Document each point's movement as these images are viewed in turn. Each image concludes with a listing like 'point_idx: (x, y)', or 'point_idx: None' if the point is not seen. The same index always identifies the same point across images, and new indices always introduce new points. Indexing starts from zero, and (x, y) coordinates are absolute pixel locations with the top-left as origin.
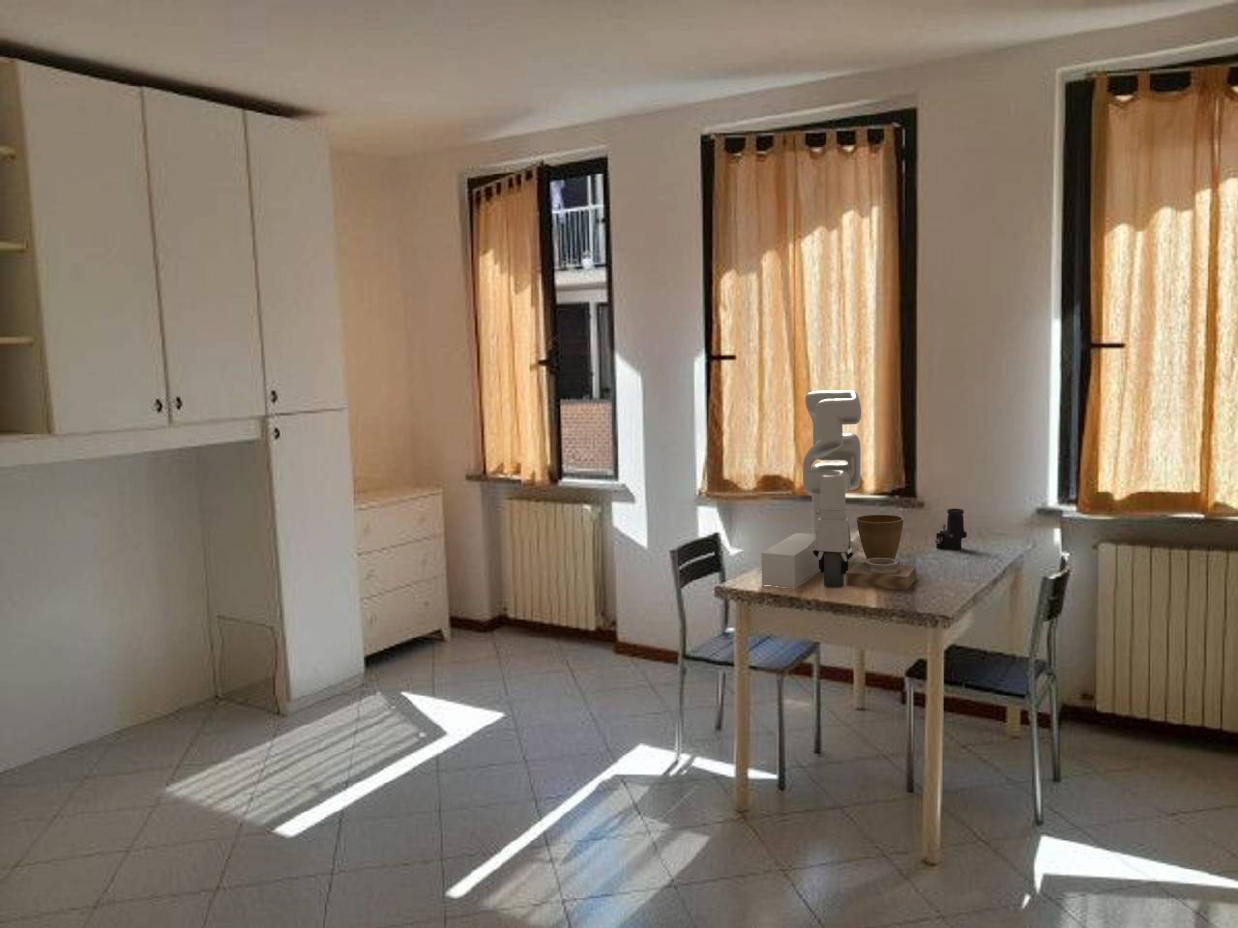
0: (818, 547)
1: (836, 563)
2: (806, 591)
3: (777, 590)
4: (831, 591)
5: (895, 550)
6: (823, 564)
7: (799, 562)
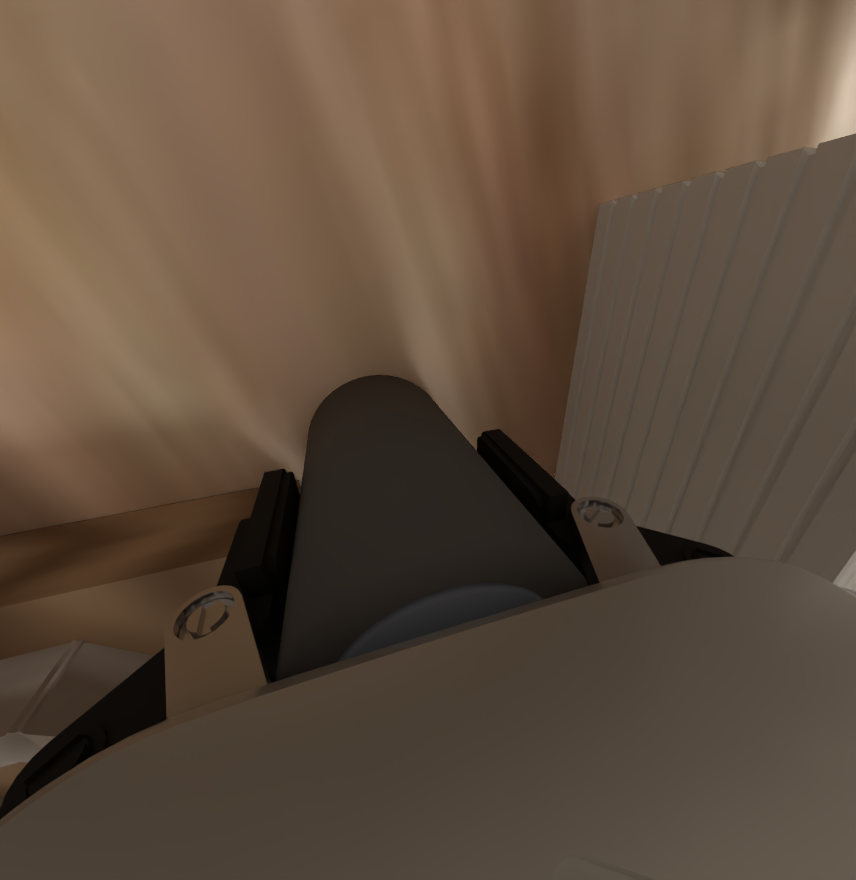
0: (819, 612)
1: (336, 498)
2: (506, 160)
3: (716, 100)
4: (314, 251)
5: None
6: None
7: (763, 360)
